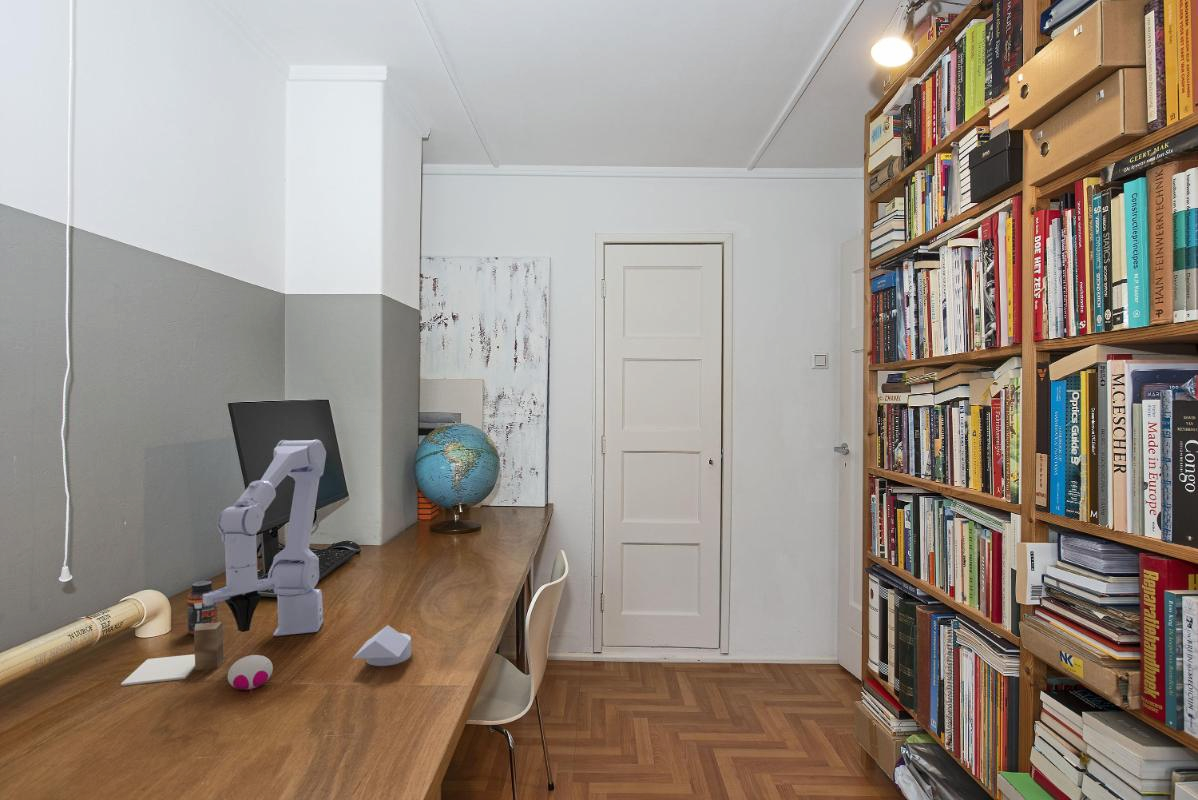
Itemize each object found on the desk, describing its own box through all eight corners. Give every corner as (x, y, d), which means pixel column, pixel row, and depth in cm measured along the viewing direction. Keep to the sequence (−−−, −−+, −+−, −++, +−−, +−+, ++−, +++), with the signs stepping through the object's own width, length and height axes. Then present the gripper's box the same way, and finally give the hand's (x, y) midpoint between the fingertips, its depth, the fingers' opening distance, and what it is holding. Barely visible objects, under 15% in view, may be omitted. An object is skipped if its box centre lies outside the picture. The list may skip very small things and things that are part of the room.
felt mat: (206, 654, 143) (206, 653, 142) (185, 678, 131) (185, 676, 131) (147, 660, 140) (147, 659, 140) (120, 685, 128) (120, 683, 128)
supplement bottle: (204, 636, 153) (202, 587, 153) (182, 635, 154) (180, 586, 154) (223, 627, 159) (222, 579, 159) (202, 626, 160) (200, 578, 160)
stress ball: (229, 713, 123) (225, 692, 120) (229, 675, 129) (226, 654, 126) (275, 701, 127) (273, 681, 123) (273, 665, 133) (271, 644, 129)
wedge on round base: (399, 674, 131) (416, 647, 144) (398, 639, 131) (415, 616, 144) (352, 675, 131) (373, 649, 144) (351, 641, 131) (372, 618, 144)
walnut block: (223, 660, 140) (222, 621, 139) (217, 667, 136) (216, 628, 136) (202, 662, 139) (200, 623, 139) (195, 670, 135) (193, 630, 135)
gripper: (267, 554, 146) (269, 616, 147) (195, 570, 135) (197, 637, 135) (283, 559, 142) (285, 622, 142) (210, 575, 131) (213, 644, 131)
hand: (243, 630), depth 139 cm, fingers closed
